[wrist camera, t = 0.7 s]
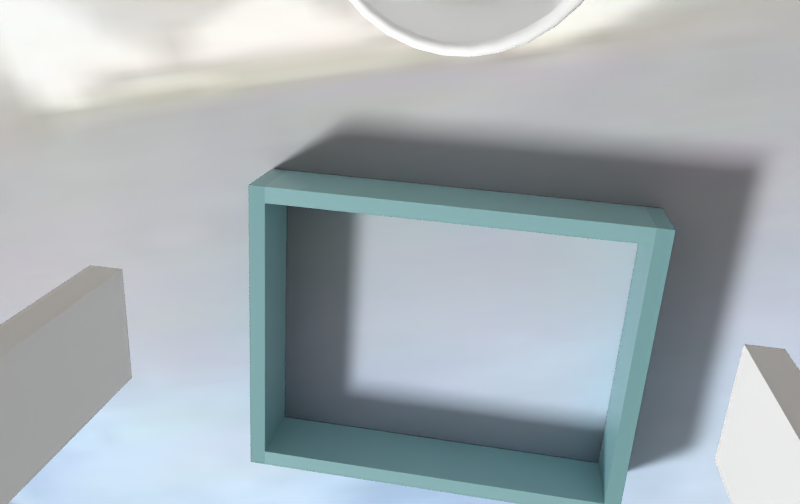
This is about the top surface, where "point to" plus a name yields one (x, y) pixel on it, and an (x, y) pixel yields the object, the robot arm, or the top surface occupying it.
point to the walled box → (424, 457)
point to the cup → (465, 22)
